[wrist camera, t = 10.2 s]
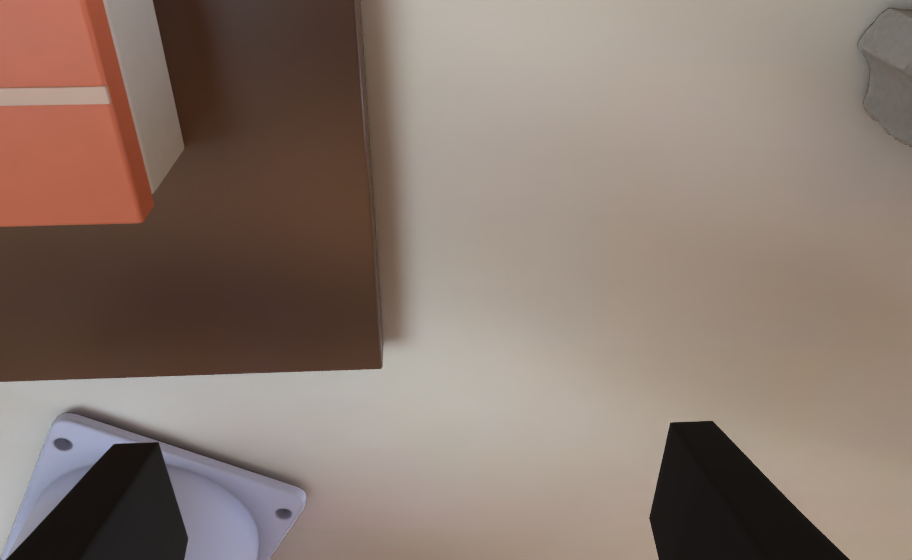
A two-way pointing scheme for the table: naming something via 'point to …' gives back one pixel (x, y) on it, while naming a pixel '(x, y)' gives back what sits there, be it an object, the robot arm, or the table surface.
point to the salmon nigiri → (83, 112)
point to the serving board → (222, 217)
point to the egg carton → (890, 72)
